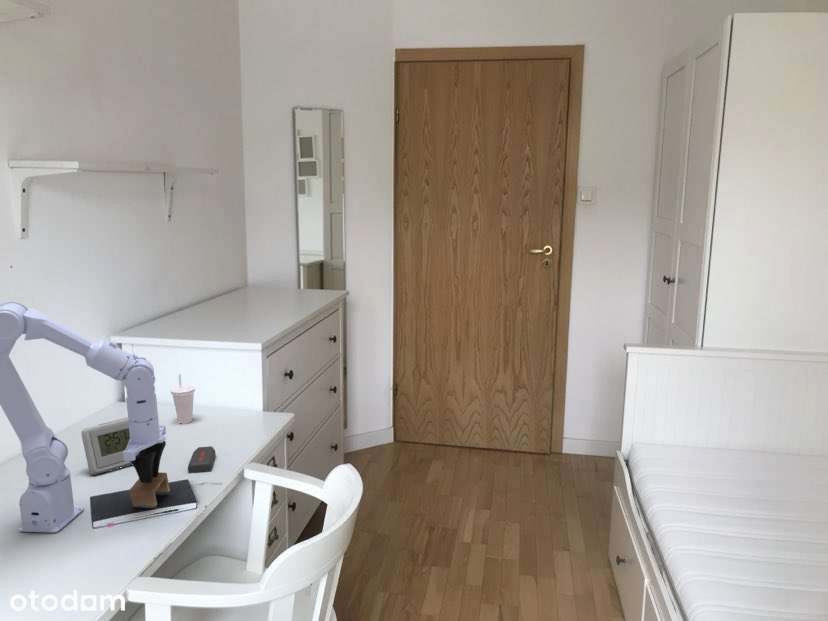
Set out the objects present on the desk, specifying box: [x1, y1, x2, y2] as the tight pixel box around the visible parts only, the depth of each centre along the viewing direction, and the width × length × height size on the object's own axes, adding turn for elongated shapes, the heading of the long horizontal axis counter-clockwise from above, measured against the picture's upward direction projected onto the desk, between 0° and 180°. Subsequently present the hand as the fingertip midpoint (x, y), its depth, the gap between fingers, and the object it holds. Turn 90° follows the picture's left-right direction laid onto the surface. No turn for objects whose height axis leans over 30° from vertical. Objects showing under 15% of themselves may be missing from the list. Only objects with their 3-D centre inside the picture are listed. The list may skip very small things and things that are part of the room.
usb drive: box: [187, 445, 217, 474], centre depth 158 cm, size 5×12×3 cm, turn 10°
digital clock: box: [80, 417, 132, 476], centre depth 157 cm, size 16×9×11 cm, turn 122°
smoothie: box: [170, 373, 196, 424], centre depth 185 cm, size 6×6×14 cm
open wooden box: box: [128, 471, 171, 506], centre depth 138 cm, size 4×5×6 cm
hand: (149, 479), depth 137 cm, fingers open, 2 cm apart
